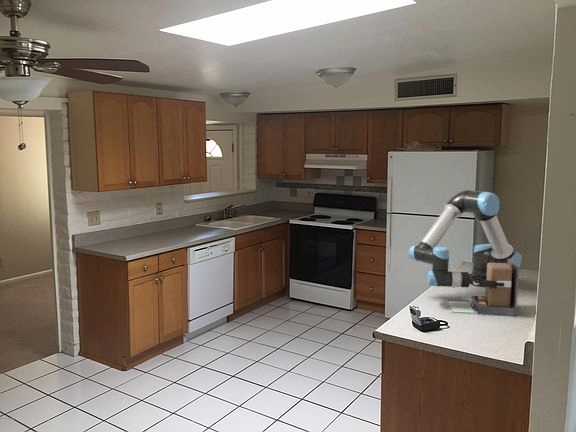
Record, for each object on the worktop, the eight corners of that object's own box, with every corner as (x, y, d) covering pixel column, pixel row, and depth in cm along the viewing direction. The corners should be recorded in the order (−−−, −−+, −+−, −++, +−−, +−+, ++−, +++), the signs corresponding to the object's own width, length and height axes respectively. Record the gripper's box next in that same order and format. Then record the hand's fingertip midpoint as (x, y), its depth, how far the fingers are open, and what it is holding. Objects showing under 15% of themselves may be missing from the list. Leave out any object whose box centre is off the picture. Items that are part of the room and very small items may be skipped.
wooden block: (510, 308, 240) (513, 268, 237) (488, 307, 242) (490, 267, 239) (505, 301, 250) (508, 262, 247) (484, 300, 252) (486, 262, 249)
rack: (470, 303, 256) (473, 257, 252) (506, 304, 254) (509, 258, 250) (478, 314, 239) (481, 265, 236) (515, 316, 237) (519, 267, 233)
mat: (447, 302, 257) (447, 301, 257) (468, 303, 256) (468, 302, 256) (453, 312, 242) (453, 311, 242) (474, 313, 240) (474, 312, 240)
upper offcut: (477, 301, 253) (477, 296, 252) (484, 302, 252) (484, 297, 251) (478, 308, 242) (479, 303, 242) (485, 309, 241) (486, 304, 241)
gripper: (455, 280, 258) (501, 282, 255) (464, 293, 236) (514, 295, 233) (456, 266, 257) (502, 267, 254) (465, 278, 235) (515, 280, 232)
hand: (507, 281), depth 243 cm, fingers closed on wooden block, 10 cm apart
